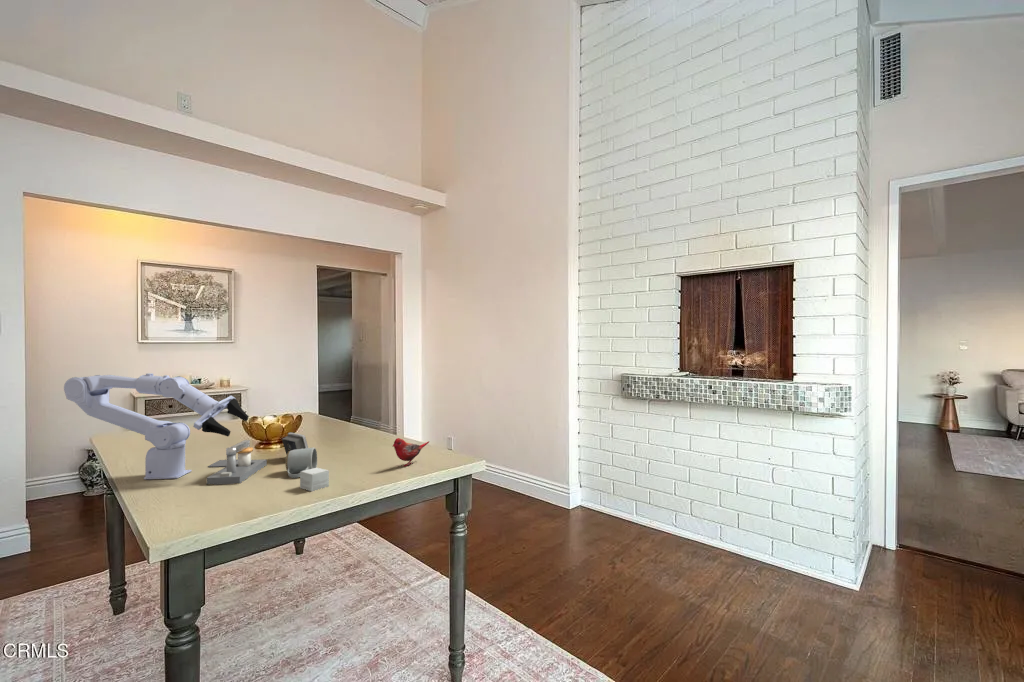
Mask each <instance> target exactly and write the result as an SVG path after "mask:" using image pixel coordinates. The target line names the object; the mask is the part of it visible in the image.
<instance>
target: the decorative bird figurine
mask: <svg viewBox="0 0 1024 682" xmlns="http://www.w3.org/2000/svg"><path fill="white" fill-rule="evenodd" d="M429 443H430V441H426V442H424V443H423V444H420V445H419V444H417V443H411V442H406V441H405V440H404V439H403V438H399V437H397V438H396V439H395V440H394V441H393V445H391V446H392V447H393V448H394V451H395V454H396V456H397V458H399V460H401V461H403V462H407V463H405V464H404V465H402V467H408V466H411V465H412V464H413V460H414V459H415V458H416V457H417V456H418V455H419V454H420V453H421V450H422V449H423V448H424V447H425V446H427V445H428V444H429ZM410 464H411V465H410Z"/></svg>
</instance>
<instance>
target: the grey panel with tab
mask: <svg viewBox="0 0 1024 682" xmlns="http://www.w3.org/2000/svg"><path fill="white" fill-rule="evenodd" d="M226 460H227V467H222V468H221V469H220V470H218V471H217V472H214V473H213V474H211V475H208V476H207V477H206V485H207V484H214V485H233V484H234V483H240V484H242V483H243V482H244V481H246V480H248V479H249V478H250V477H252V476H253V475H254V473H255V472H256V473H257V471H258V470H259V471H260V470H262V469H264V468H265V467H267V465H268V464H267V459H251V465H250V466H243V467H238V459H237V454H236V455H231V456H227V455H226ZM236 460H237V461H236ZM264 466H265V467H264ZM261 468H262V469H261ZM259 471H258V472H259ZM256 473H255V474H256ZM252 474H253V475H252ZM251 475H252V476H251ZM249 476H250V477H249ZM248 477H249V478H248ZM245 479H246V480H245ZM242 481H243V482H242ZM234 485H235V484H234Z"/></svg>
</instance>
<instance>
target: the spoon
mask: <svg viewBox="0 0 1024 682" xmlns="http://www.w3.org/2000/svg"><path fill="white" fill-rule="evenodd" d="M250 442H251V441H250V439H244V440H242V441H240V442H238V443H236V444H233V445H232V446H230V447H226V448H225V451H226V452H225V453H226V454H225V455H226V457H227V456H231V455H236V456H237V454H238V452H240V451H242V450H243V449H245V448H247V447H250Z"/></svg>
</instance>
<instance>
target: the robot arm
mask: <svg viewBox="0 0 1024 682" xmlns="http://www.w3.org/2000/svg"><path fill="white" fill-rule="evenodd" d="M113 388H115V389H135V390H136V392H137V393H139V394H146V395H158V396H162V397H163V398H166V399H168V398H169V399H170V398H173V399H174V400H176V401H178V402H179V403H181V404H182V405H184V406H186V407H187V408H189V409H190V410H192V411H193V412H195V413H197V414H198V415H200V417H199V418H198V419H197V420H195V422H194V423H193V426H192V427H193V428H195V429H196V430H198V431H200V430H201V431H202V432H204V433H214V434H218V435H222V436H225V437H230V434H231V432H232V431H231V430H230V429H228V428H227V427H225V426H224V425H223V424H220V423H219V422H218V421H217V420H216V419H215V417H216V416H217V415H219V414H220V413H222V412H223V411H224V410H225V409H227V412H226V413H227V414H228V415H233V416H234V417H237V418H238V419H240V420H242V421H244V422H247V421H248V420H249V417H250V416H249V415H248V414H247V413H246V412H245V411H244V409H243V408H242V407H241V406H240V404H239V402H238V400H237V398H236V397H234V396H233V395H232V394H231V395H229V396H228V397H226V398H223V399H222V400H220V401H218V400H216V399H214V398H213V397H211V396H209V395H208V394H206V393H205V392H203V391H201V390H199V389H198V388H197V387H196V386H195V387H194V386H193V385H191V384H190V381H189V380H188V379H187V378H185V377H183V376H175V377H170V375H167V374H165V375H154V373H152V372H148V373H145V374H142V375H140V376H139V377H132V376H131V377H130V376H124V375H112V374H102V375H100V374H95V375H89V376H81V377H80V376H79V377H77V376H74V377H70V378H68V379H67V380H66V381H65V383H64V385H63V391H64V394H65V397H66V400H69V401H71V402H73V403H75V404H76V405H77V406H78V407H79V408H80V409H81V411H83V412H84V413H85V414H86V415H87V416H89V417H92V418H95V419H97V420H101V421H103V422H106V423H109V424H112V425H113V426H114V425H115V426H118V427H120V428H123V429H126V430H129V431H131V432H135V433H137V434H140V435H142V436H144V440H145V441H148V442H150V443H151V444H152V446H153V447H150V448H149V449H148V450H147V452H146V455H145V462H144V463H145V472H144V473H145V476H144V477H143V480H163V479H164V480H165V479H167V480H168V479H170V480H171V479H179V478H181V477H183V476H184V475H187V474H189V473H191V472H192V469H186V444H187V440H188V439H189V438H190V435H191V429H190V427H189V425H188V424H186V423H185V422H172V421H171V420H159V419H155V418H153V417H150V416H148V415H144V414H142V413H139V412H136V411H133V410H130V409H127V408H125V407H122V406H120V405H116V404H113V403H111V402H110V390H111V389H113Z"/></svg>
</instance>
